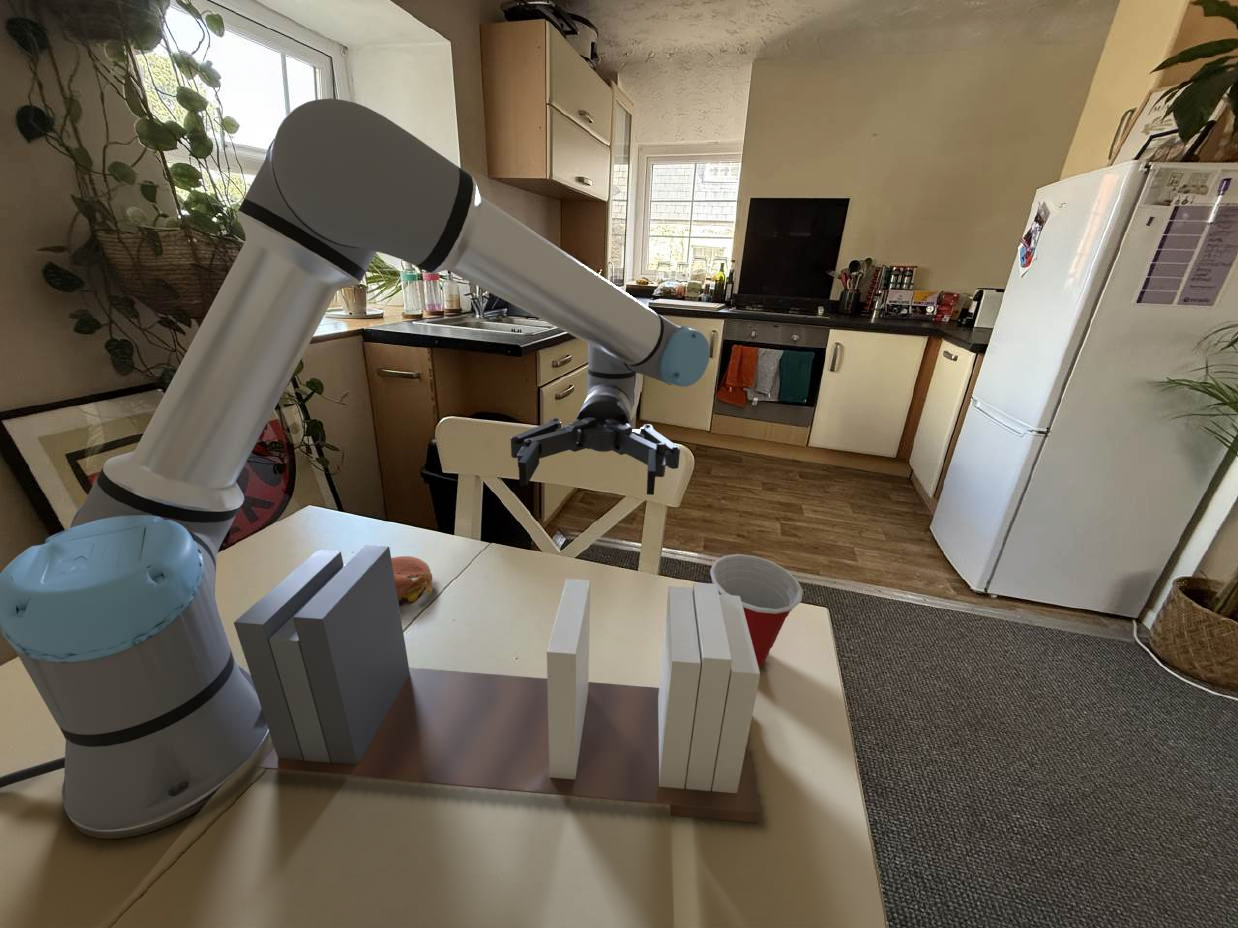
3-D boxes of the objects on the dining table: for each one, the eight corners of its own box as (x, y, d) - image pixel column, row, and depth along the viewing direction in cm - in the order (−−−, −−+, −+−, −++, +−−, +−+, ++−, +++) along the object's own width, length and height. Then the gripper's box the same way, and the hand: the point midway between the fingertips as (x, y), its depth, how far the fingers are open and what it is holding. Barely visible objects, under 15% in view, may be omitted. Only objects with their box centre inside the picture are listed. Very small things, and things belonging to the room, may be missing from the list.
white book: (549, 777, 46) (546, 651, 40) (566, 690, 55) (566, 578, 49) (575, 779, 46) (576, 654, 40) (588, 692, 55) (590, 580, 49)
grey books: (277, 758, 47) (229, 612, 40) (344, 668, 57) (315, 541, 50) (357, 765, 46) (322, 619, 40) (410, 674, 56) (389, 546, 50)
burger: (386, 572, 76) (381, 546, 75) (444, 577, 76) (441, 551, 74) (347, 614, 67) (341, 586, 65) (413, 621, 67) (409, 592, 65)
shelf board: (261, 778, 46) (257, 767, 46) (342, 671, 58) (340, 661, 58) (758, 823, 44) (760, 812, 44) (735, 703, 56) (737, 693, 56)
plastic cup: (791, 697, 57) (811, 614, 53) (697, 680, 59) (708, 598, 54) (782, 633, 67) (798, 558, 62) (701, 620, 69) (711, 546, 64)
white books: (659, 786, 45) (672, 655, 39) (658, 697, 55) (669, 580, 49) (737, 793, 45) (762, 662, 39) (722, 702, 54) (741, 585, 48)
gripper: (688, 449, 72) (701, 518, 53) (520, 438, 74) (472, 502, 54) (693, 399, 70) (709, 453, 50) (518, 388, 71) (467, 437, 51)
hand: (586, 478), depth 52 cm, fingers open, 13 cm apart
